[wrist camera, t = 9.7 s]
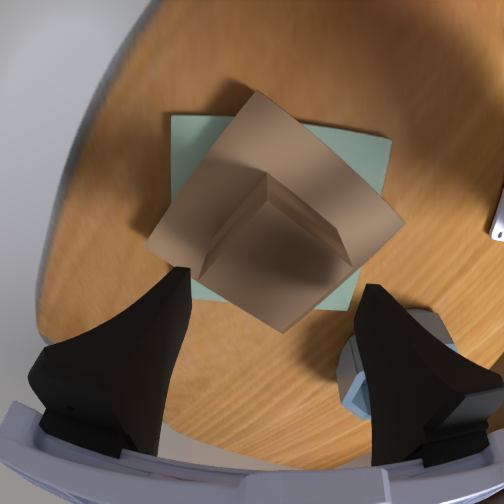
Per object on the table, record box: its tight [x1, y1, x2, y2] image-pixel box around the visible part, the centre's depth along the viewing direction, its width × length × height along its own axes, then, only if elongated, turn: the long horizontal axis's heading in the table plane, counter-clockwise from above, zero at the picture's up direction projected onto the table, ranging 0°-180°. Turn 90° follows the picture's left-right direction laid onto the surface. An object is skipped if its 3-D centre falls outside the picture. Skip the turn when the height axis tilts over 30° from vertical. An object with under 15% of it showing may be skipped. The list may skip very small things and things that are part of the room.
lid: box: [143, 90, 406, 334], centre depth 16 cm, size 11×11×5 cm
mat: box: [171, 115, 392, 311], centre depth 18 cm, size 12×12×1 cm
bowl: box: [336, 309, 458, 420], centre depth 23 cm, size 10×10×4 cm
